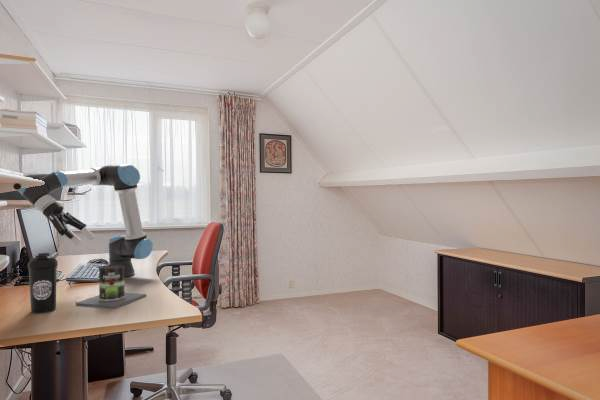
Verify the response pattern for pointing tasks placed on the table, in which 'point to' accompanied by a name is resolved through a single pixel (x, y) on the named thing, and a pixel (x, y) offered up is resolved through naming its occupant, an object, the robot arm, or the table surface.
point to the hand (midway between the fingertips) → (86, 240)
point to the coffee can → (111, 282)
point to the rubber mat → (111, 304)
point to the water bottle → (42, 283)
